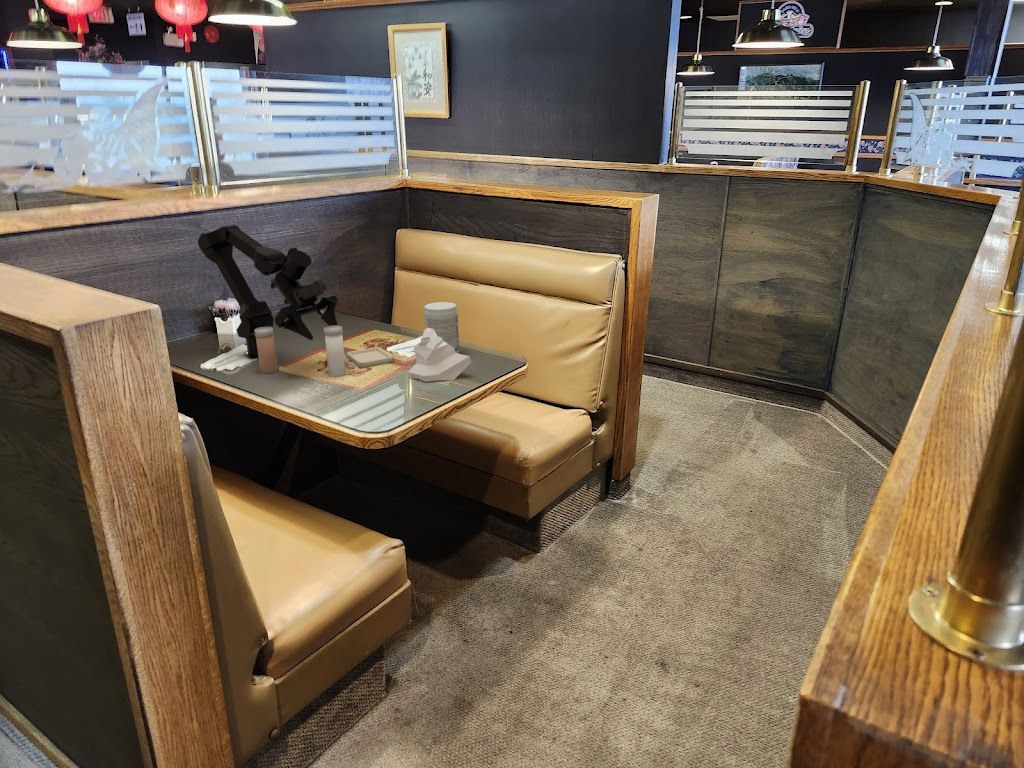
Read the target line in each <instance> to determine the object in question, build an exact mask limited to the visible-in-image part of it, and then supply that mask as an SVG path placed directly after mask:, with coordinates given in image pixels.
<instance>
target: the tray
mask: <svg viewBox="0 0 1024 768" xmlns="http://www.w3.org/2000/svg"><path fill="white" fill-rule="evenodd" d="M345 358H346V359H348V360H349V361H350V362H352V363H353V364H354V365H356V366H357V367H358V368H359V369H365V368H370V366H371V367H376V366H380V364H381V365H386V364H385V363H387V364H392V363H395V357H394V356H393V355H391V354H390V353H388V352H387V351H385V350H384V349H382V348H381V347H380V346H374V347H370V348H363V349H358V350H357V349H356V350H353V351H347V352H345ZM391 362H392V363H391ZM375 365H376V366H375Z"/></svg>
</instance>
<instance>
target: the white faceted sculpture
mask: <svg viewBox="0 0 1024 768" xmlns="http://www.w3.org/2000/svg"><path fill="white" fill-rule="evenodd" d="M419 340H420V342H418V343H417V344H415V345H414V346H413V351H414V354H415V358H416V359H415V360H416V361H415V363H414V365H413V366H412V367H411V368H410V370H409V371H408V376H409V377H412V378H411V379H414V378H415V380H417V379H419V380H418V381H421V380H422V381H421V382H425V383H428V382H436V381H454V380H456V379H457V377H458V376H459V375H460V374H461V373H462V372H464V371H465V369H466V368H467V367H468V366H469V365H470V364H471V363H472V360H471V357H470V355H466V354H462V353H456V352H455V350H454V348H453V347H452V346H450V345H449V344H447V343H446V342H444V341H443V338H441V337H439V336H437V334H436V332H435V330H434V329H431V328H426V329H424V331H423V333H422V336H420V337H419Z"/></svg>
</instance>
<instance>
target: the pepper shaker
mask: <svg viewBox="0 0 1024 768" xmlns="http://www.w3.org/2000/svg"><path fill="white" fill-rule="evenodd" d="M255 336H256V342H257V349H258V356H259V357H258V362H259V371H260V373H261V374H265V373H269V374H274V373H277V372H279V367H278V366H279V365H278V359H277V351H276V343H275V337H274V336H275V335H274V327H273V328H272V327H259V328H256V329H255ZM276 371H277V372H276ZM273 372H274V373H273ZM265 375H266V374H265Z"/></svg>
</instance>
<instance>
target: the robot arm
mask: <svg viewBox="0 0 1024 768" xmlns="http://www.w3.org/2000/svg"><path fill="white" fill-rule="evenodd" d="M197 245H198V248H199V250H200V251H201V252H202V254H203V255H204V256H205V258H206V259H208V260H210V261H211V262H212V263H214V264H216V267H217V269H219V271H220V273H221V275H222V277H223V279H224V280H225V282H226V284H227V286H228V287H229V290H230V291H231V293H232V295H233V296H234V299H235V300H236V302H237V304H238V306H239V319H240V323H239V325H238V326H237V329H236V334H237V337H239V338H243V339H245V342H246V344H245V345H246V350H247V351H248V354H247V355H246V357H247V356H248V357H249V358H251V359H256V358H259V356H258V349H257V342H256V336H255V329H256V328H259V327H272V328H273V329H274V323H275V325H276V326H277V327H278V328H279V329H281V328H283V329H284V330H289V331H292V332H294V333H295V334H298V335H299V336H302V337H304V338H306V339H308V340H309V341H313V339H314V337H313V335H312V333H311V331H310V330H309V328H308V327H307V326H306V324H305V322H304V321H303V319H302V316H304V315H308V314H312V313H315V312H317V314H318V315H320V318H321V320H322V321H323V322H325V323H326V324H327V326H333V325H337V326H339V325H338V322H337V317H336V312H335V310H336V307H337V305H338V304H339V302H340V300H339V299H338V298H337V296H336V295H333V294H330V295H325V296H322V297H321V299H320V300H319V298H318V296H320V295H324V294H325V291H326V290H327V284H326V283H325V281H324V280H323V279H321V278H320V279H316V280H315V281H313V283H310V284H307V285H303V284H302V283H301V282H300V281H299V280H301V279H303V278H304V276H305V274H306V273H307V272H308V270H309V268H310V266H311V265H312V258H311V256H310V255H309V254H307V253H306V252H304V251H302V250H299V249H298V248H297V247H292V248H291V247H290V248H289V249H288V251H287V253H286V255H285V253H283V252H282V251H280V250H278V249H275V248H271V247H267V246H264V245H263V244H261V243H260V242H259V241H257V240H256V239H254V238H253V237H251V236H250V235H249V234H247V233H245V232H244V231H243V230H241V228H240V227H239V226H238V225H235V224H230V225H224V226H221V227H219V228H217V229H216V230H212V231H210V232H206V233H204V232H203V233H201V234H200V236H199V238H198V239H197ZM234 248H235V249H237V250H238V251H240V252H241V253H242V254H243V255H245V256H247V258H250V259H251V260H252V261H253V265H254V268H255V269H256V270H257V271H258V272H260V273H261V275H263V276H266V277H267V276H272V275H275V276H274V278H273V277H272V278H270V279H271V281H270V282H271V283H270V289H271V290H273V289H277V290H278V291H279V292H280V293H281V295H282V296H283V298H284V300H283V303H284V304H285V305H288V306H283V307H280V309H279V310H278V313H277V314H276V316H275V317H274V315H273V311H272V310H271V309H270V307H269V306H268V302H266V301H265V300H262V301H259V300H258V299H257V298H256V297H255V294H254V293H253V291H252V289H251V287H250V286H249V284H248V282H247V281H246V279H245V276H244V274H243V273H242V271H241V269H240V267H239V266H238V264H237V262H236V260H235V259H234V256H233V252H234V251H233V250H234ZM318 300H319V302H317V301H318ZM315 302H317V303H315ZM247 351H246V352H247ZM248 357H247V358H248ZM249 358H248V359H249Z"/></svg>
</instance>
